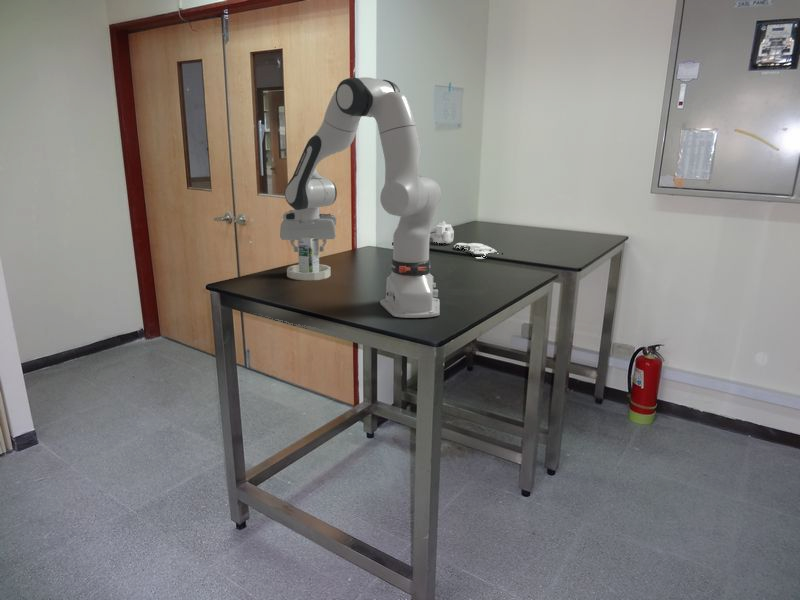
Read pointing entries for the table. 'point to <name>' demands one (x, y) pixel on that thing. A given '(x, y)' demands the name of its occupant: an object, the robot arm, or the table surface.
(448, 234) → the mechanical part
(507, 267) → the table surface
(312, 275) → the round bowl
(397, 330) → the table surface
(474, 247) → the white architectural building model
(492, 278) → the table surface
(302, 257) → the syrup box
